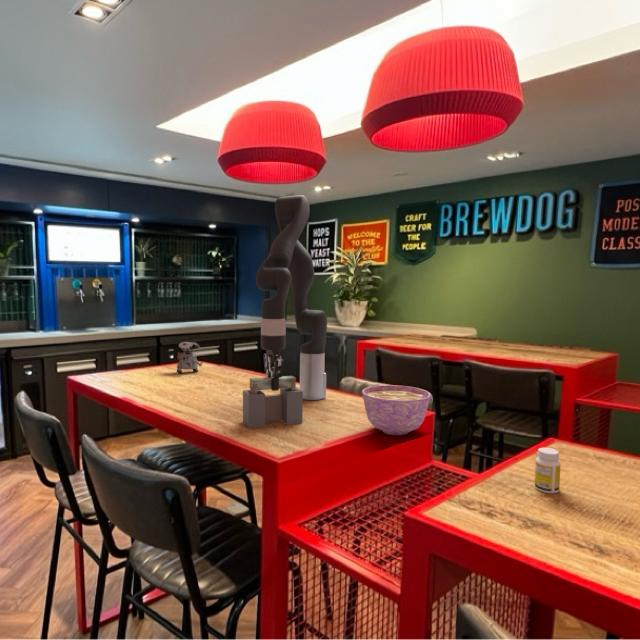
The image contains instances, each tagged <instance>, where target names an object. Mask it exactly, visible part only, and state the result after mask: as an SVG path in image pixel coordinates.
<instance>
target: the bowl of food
mask: <svg viewBox="0 0 640 640" xmlns="http://www.w3.org/2000/svg"><path fill="white" fill-rule="evenodd" d="M361 393H362V399H363V404H364V408H365V413H366V417H367V420H368V421H369V424H371V425H372V426H373V427H375V428H376V429H377V430H380V431H381V430H382V431H383V432H382V431H381V432H382V433H384V434H387V435H392V436H403V435H407V434H409V433H410V432H412V431H414V430H417V429H419V428H420V426H421V425H422V424H423V422H424V420H425V418H426V415H427V411H428V407H429V403H430V400H431V395H432V394H431V393H430V392H429V391H427V390H425V389H422V388H419V387H414V386H408V385H407V386H406V385H397V384H395V385H393V384H385V385H380V384H378V385H372V386H368V387H365V388H363V389H362V391H361Z"/></svg>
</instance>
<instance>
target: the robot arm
mask: <svg viewBox="0 0 640 640" xmlns="http://www.w3.org/2000/svg"><path fill="white" fill-rule="evenodd" d="M274 210H275V211H274V212H275V217H276V221H277V225H278V229H279V234H278V235H277V236H276V238H275V239H274V240H273V242H272V244H271V248H270V250H269V253H268V255H267V258H266V259H265V260H264V261H263V263H262V264H261V266H260V267H259V268H258V270H257V272H256V276H255V283H256V286H257V288H258V289H259V290H261V291H265V292H266V291H268V292H269V291H270V292H276V294H275V296H274V297H270V298H266V299H264V300H263V301H262V303H261V323H260V348H261V350H265V351H266V353H263V365H264V372H265V374H266V377H271V389H270V390H271V391H272V392H276V391H280V389H279V378H280V377H282V376H283V370H284V364H285V363H284V362H285V360H284V359H283V358H282V355H281V350H284V349H286V345H287V344H286V341H287V340H286V339H287V336H286V335H287V329H286V328H287V325H286V304H287V299H288V294H289V291H290V287H291V293H292V299H293V308H294V309H293V310H294V318H295V325H296V329H297V331H298V332H299V333H300V334H301V335H312V339H311V340H310V341H309V342H305V343H302V344H301V345H300V347H299V348H300V349H299V350H300V351H299V352H300V354H299V389H300V390H302V391H303V400H304V401H305V400H307V401H318V400H319V401H320V400H323V399H326V398H327V373H326V371H325V358H326V357H325V356H326V355H325V349H326V344H327V333H328V332H327V331H328V317H327V314H326V312H325V311H324V310H320V309H319V310H318V309H308V302H307V299H308V294H309V291H310V290H311V288H312V285H313V283H314V280H315V269H314V268H315V267H314V263H313V258H312V256H311V254H310V253H309V251H308V250H307V249H306V248H305V247H304V246H303V244H302V243H301V242H300V240H299V238H300V236H301V234H302V233H303V230H304V228H305V227H306V224H307V222H308V220H309V217H310V213H311V212H310V210H311V209H310V203H309V200H308V198H307V197H306V196H305V195H303V194H302V195H301V194H298V195H289V196H281V197H277V199H276V200H275V203H274Z"/></svg>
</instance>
